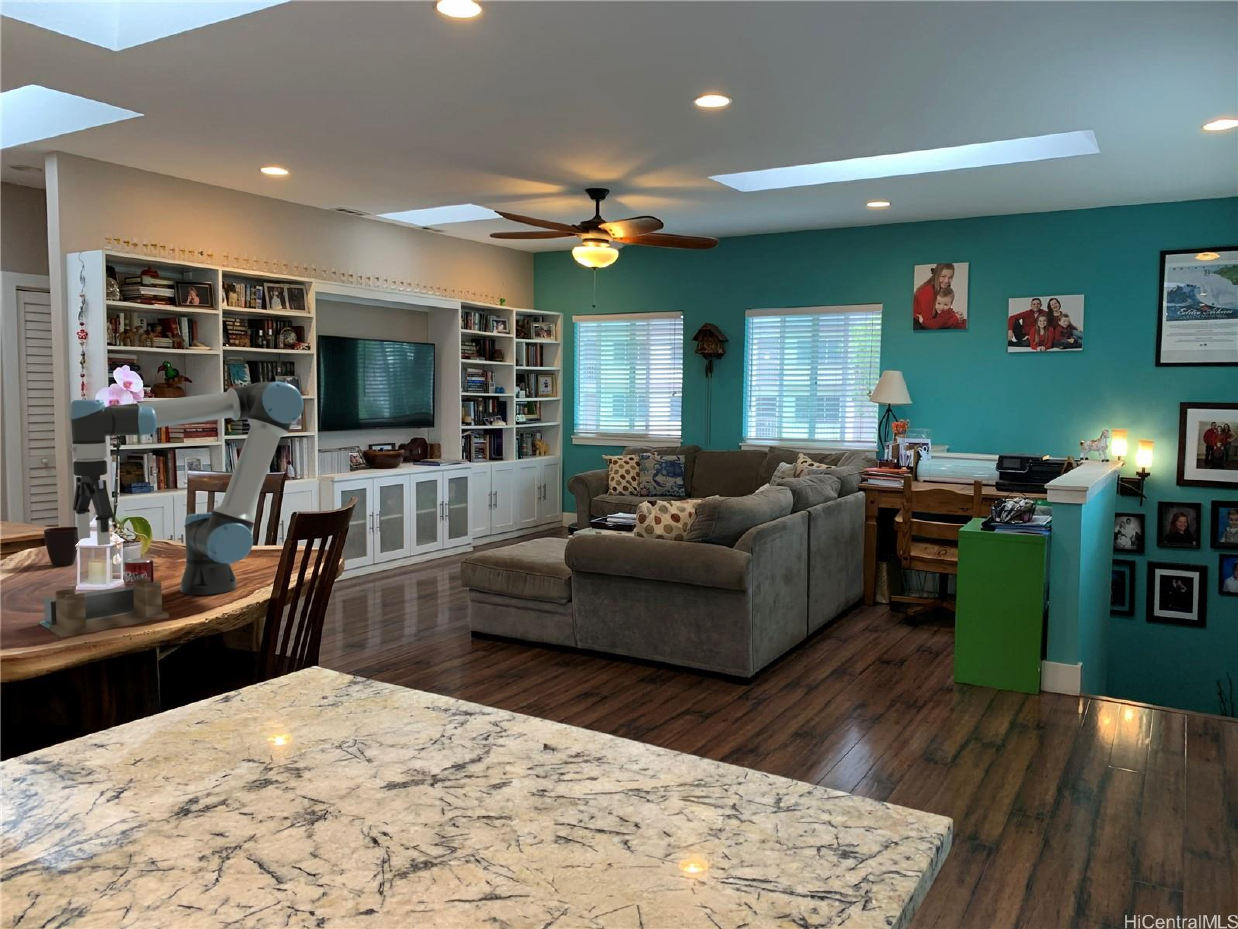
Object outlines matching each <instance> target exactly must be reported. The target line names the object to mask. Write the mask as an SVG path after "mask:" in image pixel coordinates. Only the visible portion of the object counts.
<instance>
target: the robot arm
mask: <svg viewBox="0 0 1238 929" xmlns="http://www.w3.org/2000/svg"><path fill="white" fill-rule="evenodd" d="M304 404H305V403H304V399H303V396H302V394H301V392H300V390H298V388H296V387H295V386H294V385H292V384H290V383H286V382H283V381H259V382H255V383H251V384H248V385H242V386H237V387H229V388H228V389H227V390H226V392H217V393H216V392H215V393H208V394H200V395H191V396H183V397H177V398H167V399H158V400H151V401H143V402H135V403H127V404H110V405H107V406H106V405H105V401H104V400H103V399H74V400H72V401H71V404H70V416H69V419H70V429H71V431H70V432H71V443H72V444H71V445H72V447H71V448H69V449H70V452H72V458H73V460H74V461H73V462H72V467H73V468H72V469H73V475H74V476H75V492H74V499H73V504H72V510H73V511H75V513H76V520H77V521H76V522H77V523H76V524H77V525H76V527H78V539H79V540H83V539H91V525H90V523H91V522H90V520H91V519H90V512H91V510H90V508H89V507H90V504H91V502H92V505H93V508H94V511H95V513H96V517H95V519H94V520H95V521H96V539H97V541H96V542H97V546H98V547H99V546H106V545H111V530H110V527H111V526H110V519H111V518H113V516H114V514H113V509H112V505H111V502H110V497H109V492H108V487H107V486H108V485H107V480H106V479H101V476H105V475H107V474H108V461H107V460H106V458H107V457H108V455H107V454H108V453H107V450H108V449H107V448H108V447H107V437H113V436H114V437H115V436H119V437H120V436H146V435H147V436H148V435H153V434H154V433H155V432H156V430H157V428H163V427H171V426H179V425H185V424H186V425H187V424H194V423H201V422H208V421H215V420H223V419H229V418H231V419H232V420H234V421H241V420H247V421H248V424H249V426H250V428H249V431H248V433H247V435H246V438H245V441H244V443H243V446H242V449H241V452H240V454H239V455H238V456H239V457H238V460H237V461H236V465H235V467H234V470H233V473H232V475H231V478H230V480H229V483H228V486H227V488H226V490H225V493H224V496H223V498H222V502H221V504H220V505H219V506H217V507H214V508H213V510H212V512H203V513H202V512H201V513H192V514H187V515H186V516H185V520H184V525H183V526H184V532H185V533H184V536H185V564H186V565H185V568H184V571H183V575H182V578H181V581H180V584H179V586H180V588H179V590H180V593H181V594H184V595H192V596H202V595H203V596H207V595H209V596H210V595H218V594H223V593H229V592H231V591H234V590H235V589H237V578H236V576H235V574H234V571H233V568H232V565H231V564H235V563H238V562H240V561H242V560H244V559H245V558H246V557H247V556H248V555H249V554H250V552H251V551H252V549H253V545H254V538H253V534H252V531H253V528H254V525H255V519H254V517H253V511H254V509H255V506H256V504H257V501H258V498H259V496H260V493H261V490H262V488H263V485H264V482H265V479H266V476H267V474H268V471H269V468H270V466H271V464H272V461H273V458H274V456H275V453H276V450H277V448H278V444H279V443H280V439H281V438H282V437H284V436H285V435H288V434H289V432H290V428H291V426H292V423H293V422H295V421H297V420H298V419H300V416H302V413H303V411H304Z"/></svg>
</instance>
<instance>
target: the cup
mask: <svg viewBox="0 0 1238 929" xmlns="http://www.w3.org/2000/svg"><path fill="white" fill-rule="evenodd" d="M43 534H44V535H43V536H44V537H43V538H44V543H45V546H46V550H47V554H48V558H49V561H50V563H51V566H53V567H58V568H59V567H70V566H73V565H74V563H75V561H76V558H77V554H78V549H77V550H76V547H75V545H76V544H77V543H78V542H80V539H78V527H77V526H61V527H60V526H59V527H51V528H50V527H49V528H46V529H44V530H43ZM78 544H79V543H78Z"/></svg>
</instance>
